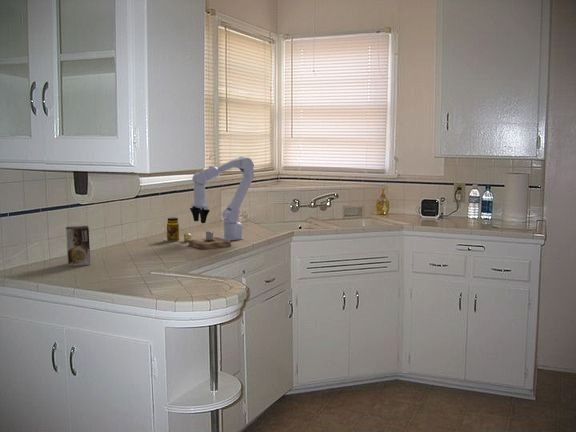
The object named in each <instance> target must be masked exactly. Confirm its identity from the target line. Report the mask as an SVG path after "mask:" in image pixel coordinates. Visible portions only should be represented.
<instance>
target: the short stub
mask: <svg viewBox="0 0 576 432" xmlns="http://www.w3.org/2000/svg"><path fill="white" fill-rule="evenodd" d="M189 240H192V233H184V234H183V242H184V243H189Z"/></svg>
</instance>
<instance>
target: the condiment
mask: <svg viewBox="0 0 576 432" xmlns="http://www.w3.org/2000/svg"><path fill="white" fill-rule="evenodd" d="M166 237H167V238H166V239H165V238H164V239H163V241H165V242H168V243H175V242H182V240H181V239H180V225H179V218H178V217H176V216H175V217H172V216H171V217H168V218H167V223H166Z"/></svg>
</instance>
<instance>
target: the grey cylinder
mask: <svg viewBox="0 0 576 432" xmlns="http://www.w3.org/2000/svg"><path fill="white" fill-rule="evenodd" d="M205 238H206V242H212V241H213V238H214V231H211V230H209V231H208V230H207V231H205Z"/></svg>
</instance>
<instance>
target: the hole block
mask: <svg viewBox="0 0 576 432" xmlns="http://www.w3.org/2000/svg"><path fill="white" fill-rule="evenodd" d="M221 238H222V237H218V236H215V237H214V236H213V241H212V242H206V237H205V238H197V239H191V240H189V242H188V246H191V247H192V248H193V247H194V248H197V249H200V250H209V249H219V247H220V248H225V247H226V246H228V247H231V246H232V240H230V241H228V240H225V239H221ZM226 248H227V247H226Z"/></svg>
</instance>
